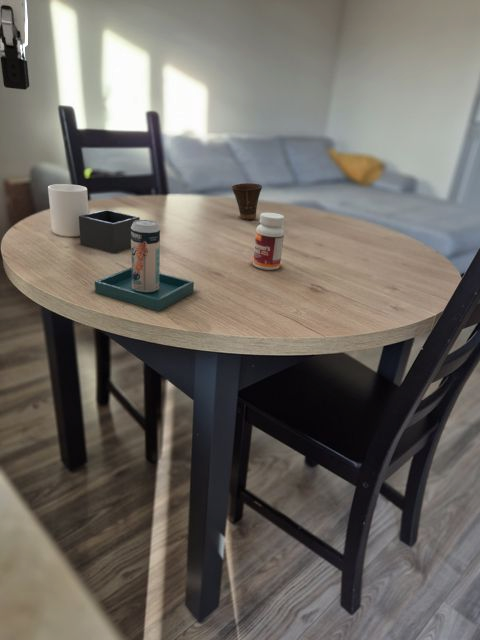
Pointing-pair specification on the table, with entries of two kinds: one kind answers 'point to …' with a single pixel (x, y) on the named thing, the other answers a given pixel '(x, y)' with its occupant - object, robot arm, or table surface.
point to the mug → (67, 208)
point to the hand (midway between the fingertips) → (17, 87)
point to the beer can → (145, 255)
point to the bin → (106, 230)
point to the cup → (247, 199)
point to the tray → (157, 300)
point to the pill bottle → (269, 241)
